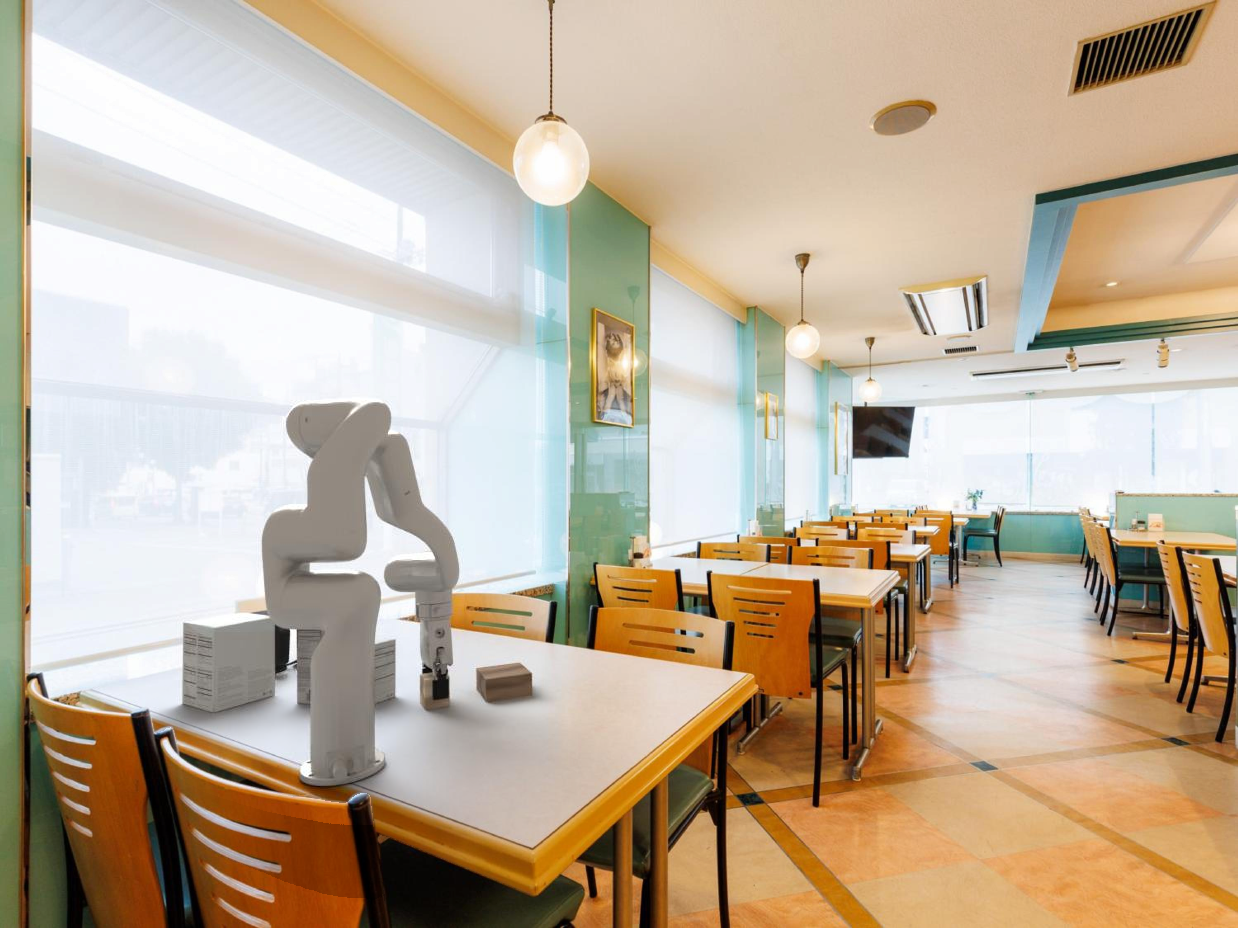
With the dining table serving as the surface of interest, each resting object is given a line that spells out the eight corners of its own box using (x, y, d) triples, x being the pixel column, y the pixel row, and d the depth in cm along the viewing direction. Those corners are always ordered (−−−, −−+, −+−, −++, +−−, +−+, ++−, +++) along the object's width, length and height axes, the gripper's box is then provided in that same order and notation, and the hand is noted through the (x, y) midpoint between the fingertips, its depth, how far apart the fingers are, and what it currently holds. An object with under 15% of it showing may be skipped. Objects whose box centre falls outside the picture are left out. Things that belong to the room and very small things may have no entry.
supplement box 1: (243, 687, 150) (243, 611, 150) (276, 695, 143) (276, 615, 144) (180, 703, 138) (181, 621, 139) (213, 713, 132) (213, 627, 132)
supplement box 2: (345, 701, 137) (345, 642, 138) (373, 692, 144) (372, 634, 144) (369, 706, 134) (369, 645, 134) (397, 696, 140) (396, 637, 141)
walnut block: (532, 696, 139) (532, 673, 139) (486, 703, 135) (485, 679, 135) (520, 684, 148) (519, 662, 148) (476, 690, 144) (476, 668, 144)
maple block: (449, 705, 133) (449, 676, 134) (425, 710, 131) (424, 680, 131) (443, 699, 138) (443, 670, 138) (420, 703, 135) (419, 674, 136)
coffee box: (323, 690, 146) (323, 618, 146) (349, 691, 144) (348, 619, 145) (295, 703, 137) (295, 627, 137) (322, 705, 135) (322, 628, 136)
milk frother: (236, 674, 161) (236, 614, 162) (286, 658, 176) (286, 604, 177) (282, 678, 157) (282, 616, 157) (329, 661, 172) (329, 605, 172)
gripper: (462, 614, 129) (464, 700, 129) (442, 602, 145) (443, 678, 144) (424, 619, 126) (425, 707, 125) (407, 605, 141) (408, 684, 140)
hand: (435, 692), depth 135 cm, fingers open, 9 cm apart
